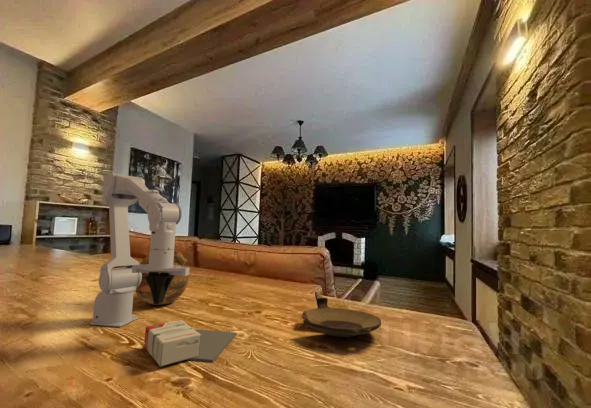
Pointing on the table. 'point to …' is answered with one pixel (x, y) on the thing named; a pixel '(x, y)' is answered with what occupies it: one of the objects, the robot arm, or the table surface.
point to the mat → (212, 344)
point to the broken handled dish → (339, 320)
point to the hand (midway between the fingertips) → (158, 302)
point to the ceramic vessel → (174, 287)
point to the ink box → (172, 342)
